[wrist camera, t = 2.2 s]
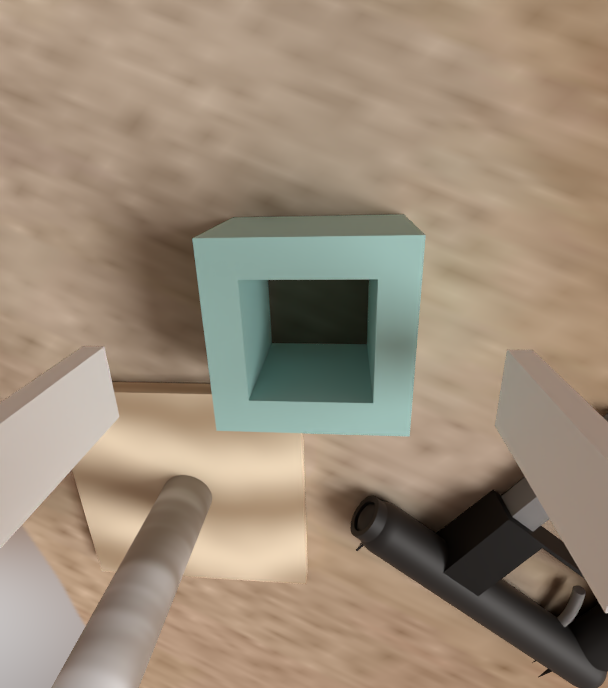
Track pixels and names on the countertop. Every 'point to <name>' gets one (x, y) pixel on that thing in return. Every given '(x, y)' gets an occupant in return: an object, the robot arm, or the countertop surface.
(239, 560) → the peg stand
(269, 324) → the collar
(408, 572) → the black toy gun
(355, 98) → the countertop surface
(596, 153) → the countertop surface
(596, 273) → the countertop surface
